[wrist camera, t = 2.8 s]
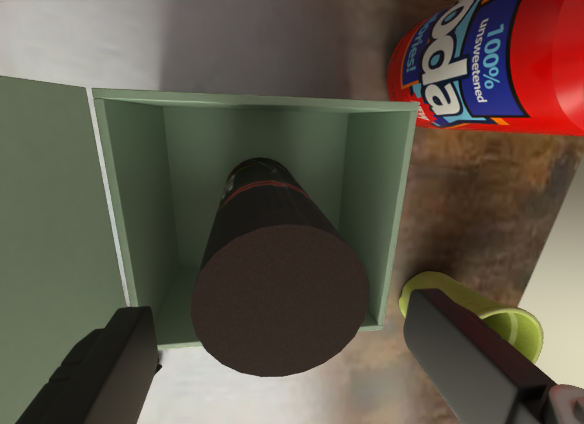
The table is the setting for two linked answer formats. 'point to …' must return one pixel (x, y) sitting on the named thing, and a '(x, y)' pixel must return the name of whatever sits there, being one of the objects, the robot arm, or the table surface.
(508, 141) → the table surface
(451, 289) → the plant pot
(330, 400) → the table surface
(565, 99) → the soda can
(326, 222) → the deodorant
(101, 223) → the flap
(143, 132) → the carton
